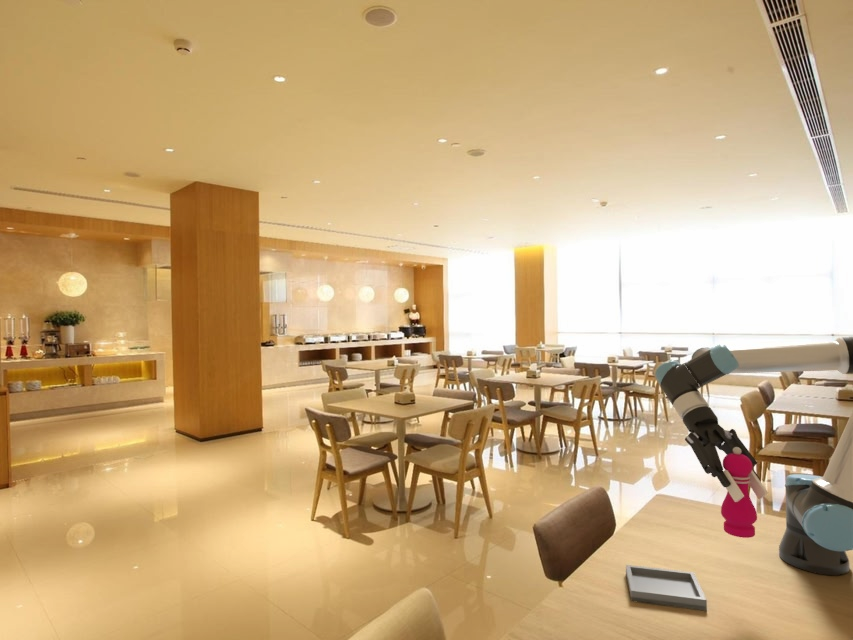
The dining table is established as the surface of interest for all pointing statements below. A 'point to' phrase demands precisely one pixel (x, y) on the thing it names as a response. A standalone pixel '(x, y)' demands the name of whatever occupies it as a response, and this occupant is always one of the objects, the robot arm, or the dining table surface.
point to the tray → (665, 587)
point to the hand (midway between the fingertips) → (751, 497)
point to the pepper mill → (742, 511)
